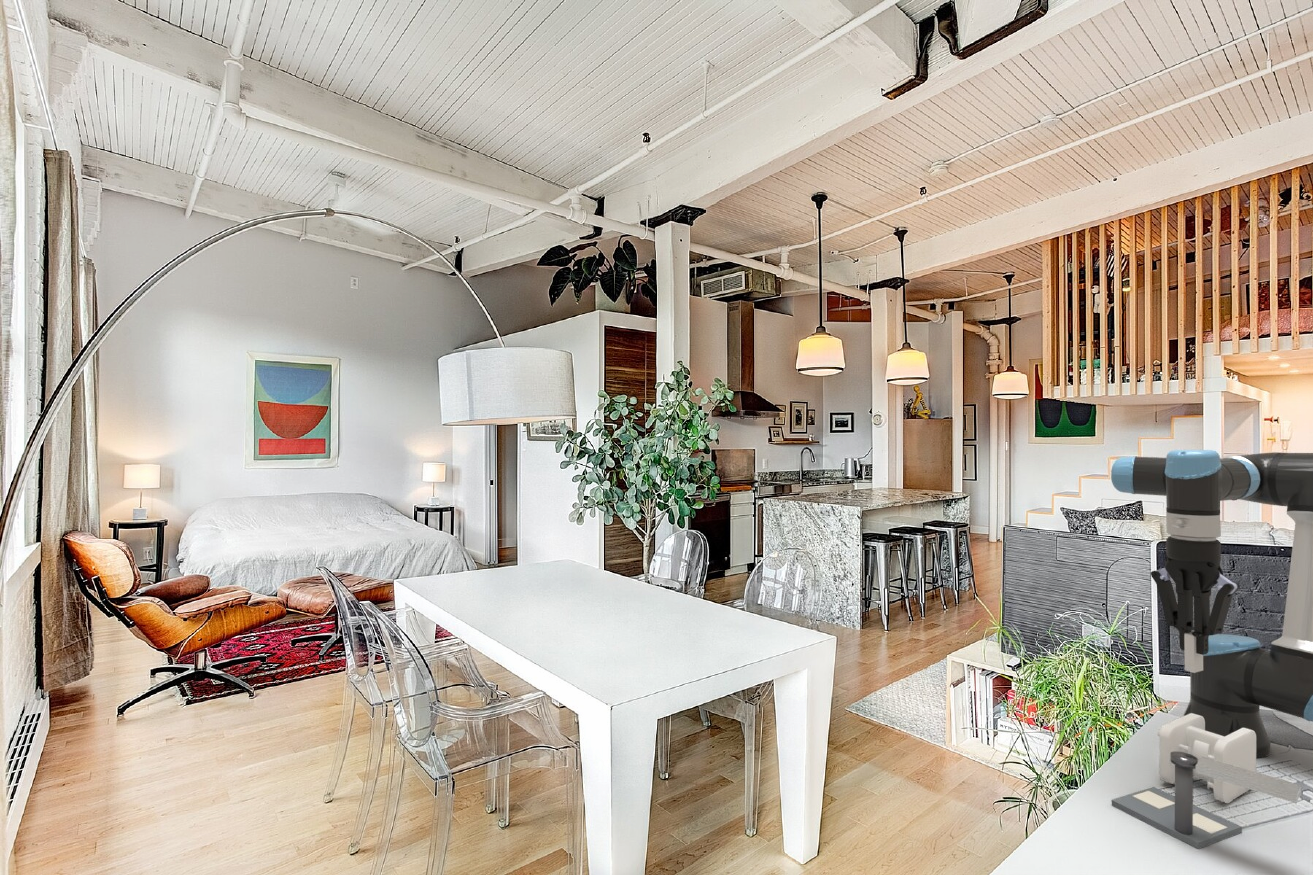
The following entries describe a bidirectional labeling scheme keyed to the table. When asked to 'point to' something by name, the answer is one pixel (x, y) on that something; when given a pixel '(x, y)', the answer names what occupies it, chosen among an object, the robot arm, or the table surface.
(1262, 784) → the grey lever handle
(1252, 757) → the cable organizer
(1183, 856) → the table surface
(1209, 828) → the label board
